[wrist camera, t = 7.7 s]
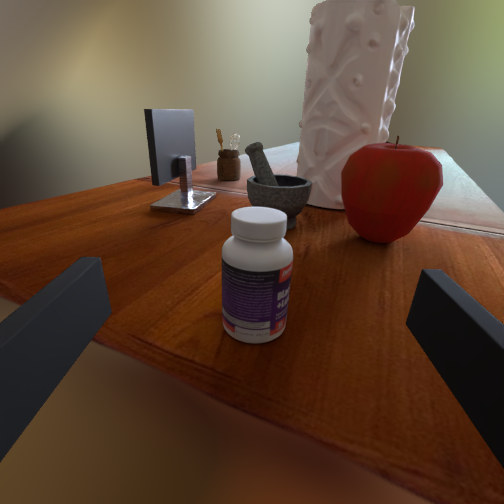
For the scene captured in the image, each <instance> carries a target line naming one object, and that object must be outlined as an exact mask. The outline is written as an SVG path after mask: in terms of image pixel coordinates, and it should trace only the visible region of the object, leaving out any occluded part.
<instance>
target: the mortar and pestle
mask: <svg viewBox="0 0 504 504" xmlns="http://www.w3.org/2000/svg"><path fill="white" fill-rule="evenodd" d="M245 152H246V154H247V155H248V156H249V158H250V161H251V164H252V168H253V171H254V174H255V176H252V177H250V178H249V179H247V192H248V198H249V200H250V203H251V205H252V207H267V208H273V209H277V210H280V211H282V212H284V213H285V214H286V215H287V226H286V230H287V229H291V228H294V227H295V225H296V216H297V215H298V214H299V213H300V212H301V211H302V209H303V208H304V206H305V205H306V203H307V201H308V200H309V196H310V193H311V187H312V181H310V180H308V179H306V178H303V177H298V176H292V175H280V174H273V172H272V170H271V168H270V165H269V163H268V161H267V159H266V157H265V154H264V152H263V145H262V144H261V143H260V142H256V143H253V144H250V145H249V146H247V148H246V149H245Z"/></svg>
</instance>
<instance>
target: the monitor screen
mask: <svg viewBox="0 0 504 504" xmlns="http://www.w3.org/2000/svg"><path fill="white" fill-rule="evenodd" d="M144 112H145V121H146V130H147V139H148V148H149V158H150V167H151V176H152V185H155V186H160V185H162V184H164V183H166V182H169V181H171V180H173V179H175V178H177V177H180V176H179V162H178V157H181V156H191V168H192V171H193V170H195V169H196V157H195V135H194V116H193V115H194V113H193V110H169V109H168V110H166V109H164V110H163V109H144Z"/></svg>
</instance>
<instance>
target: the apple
mask: <svg viewBox="0 0 504 504" xmlns="http://www.w3.org/2000/svg"><path fill="white" fill-rule="evenodd" d="M398 140H399V136H397V141H396V144H391V143H375V144H368V145H365V146H363V147H362V148H360V149H359V150H357V151H356V152H354V153H353V154H351V155H350V156H349V158H348V160H347V162H346V164H345V166H344V168H343V169H342V171H341V197H342V200H343V204H344V208H345V211H346V215H347V219H348V222H349V224H350V225H351V226H352V227H353V229H354V230H355V231H356V232H357V233H358V234H359V235H360V236H361V237H362V238H364V239H366V240H368V241H372V242H377V243H391V242H393V241H395V240H397V239H399V238H401V237H403V236H405V235H407V234H408V233H409V232H410V231H411V230H412V229H413V228H414V226H415V225H416V224H417V223H418V222H419V220H420V219H421V218H422V217H423V216H424V214H425V213H426V212H427V211H428V210H429V208H430V206H431V205H432V203H433V201H434V199H435V198H436V196H437V194H438V192H439V191H440V189H441V187H442V186H443V174H442V165H441V163H440V162H439V161H438V160H437V159H436V158H435V156H434V155H433V154H432V153H431V152H428V151H425V150H422V149H419V148H416V147H413V146H408V145H401V144H398Z"/></svg>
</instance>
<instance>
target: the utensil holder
mask: <svg viewBox="0 0 504 504" xmlns="http://www.w3.org/2000/svg"><path fill="white" fill-rule="evenodd" d="M216 132H217V137H218V142H219V143H220V145H221V149H222V150H219V153H218V155H219V156H220V157H219V158H218V160H217V175H218V179H220V180H225V181H235V180H238V179H240V159H239V158H238V156H239V151H238V150H236V149H235V150H232V149H223V147H222V142H223V140H222V135H221V131H220V129H218V131H217V129H216ZM219 132H220V133H219ZM237 135H238V134H237Z"/></svg>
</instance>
